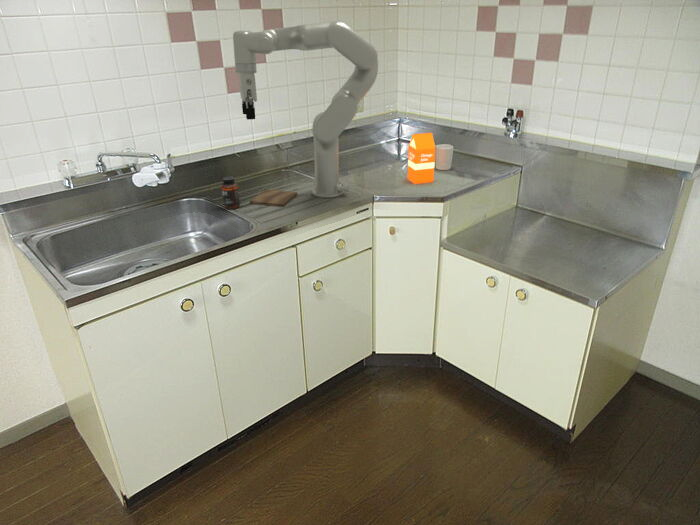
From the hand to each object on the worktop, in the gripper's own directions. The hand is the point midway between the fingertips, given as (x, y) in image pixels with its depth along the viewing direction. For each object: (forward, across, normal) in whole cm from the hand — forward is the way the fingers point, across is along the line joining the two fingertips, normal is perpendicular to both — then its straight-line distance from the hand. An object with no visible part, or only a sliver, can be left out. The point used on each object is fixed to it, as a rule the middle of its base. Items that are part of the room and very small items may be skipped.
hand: (248, 116), depth 198 cm
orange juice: (+29, -6, -70) cm, 76 cm away
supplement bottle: (+31, -11, +10) cm, 35 cm away
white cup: (+28, +7, -88) cm, 92 cm away
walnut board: (+31, -8, -7) cm, 32 cm away
